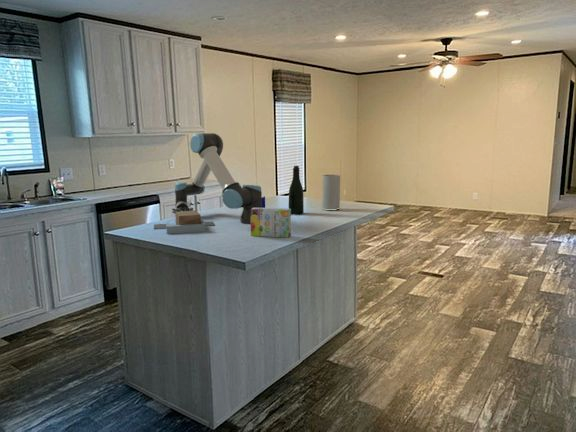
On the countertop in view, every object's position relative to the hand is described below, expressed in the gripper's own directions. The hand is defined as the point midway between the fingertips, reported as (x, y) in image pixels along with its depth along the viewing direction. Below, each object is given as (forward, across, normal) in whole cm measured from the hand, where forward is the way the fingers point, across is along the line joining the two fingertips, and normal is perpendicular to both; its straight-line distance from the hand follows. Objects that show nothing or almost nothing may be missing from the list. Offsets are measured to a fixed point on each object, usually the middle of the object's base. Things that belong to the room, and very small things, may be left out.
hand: (184, 215), depth 262 cm
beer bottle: (-21, -76, -6) cm, 79 cm away
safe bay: (+13, 0, -6) cm, 14 cm away
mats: (-1, 0, -6) cm, 7 cm away
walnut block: (+8, -2, -6) cm, 11 cm away
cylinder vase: (-30, -106, -6) cm, 110 cm away
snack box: (+41, -43, -6) cm, 59 cm away
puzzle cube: (-40, -53, -7) cm, 67 cm away
